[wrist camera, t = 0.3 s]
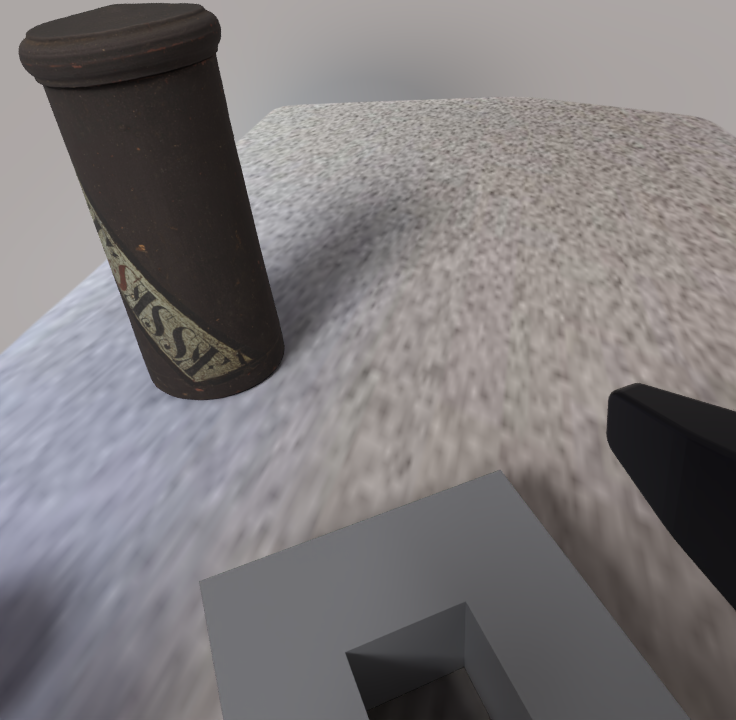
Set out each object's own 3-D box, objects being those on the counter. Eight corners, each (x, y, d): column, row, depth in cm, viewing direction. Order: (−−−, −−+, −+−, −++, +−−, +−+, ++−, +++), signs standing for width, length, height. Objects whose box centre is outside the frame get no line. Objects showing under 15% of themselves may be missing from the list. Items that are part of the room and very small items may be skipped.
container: (135, 352, 40) (-3, 13, 28) (259, 307, 44) (184, -16, 31) (170, 427, 34) (13, 34, 22) (311, 368, 37) (243, -4, 25)
